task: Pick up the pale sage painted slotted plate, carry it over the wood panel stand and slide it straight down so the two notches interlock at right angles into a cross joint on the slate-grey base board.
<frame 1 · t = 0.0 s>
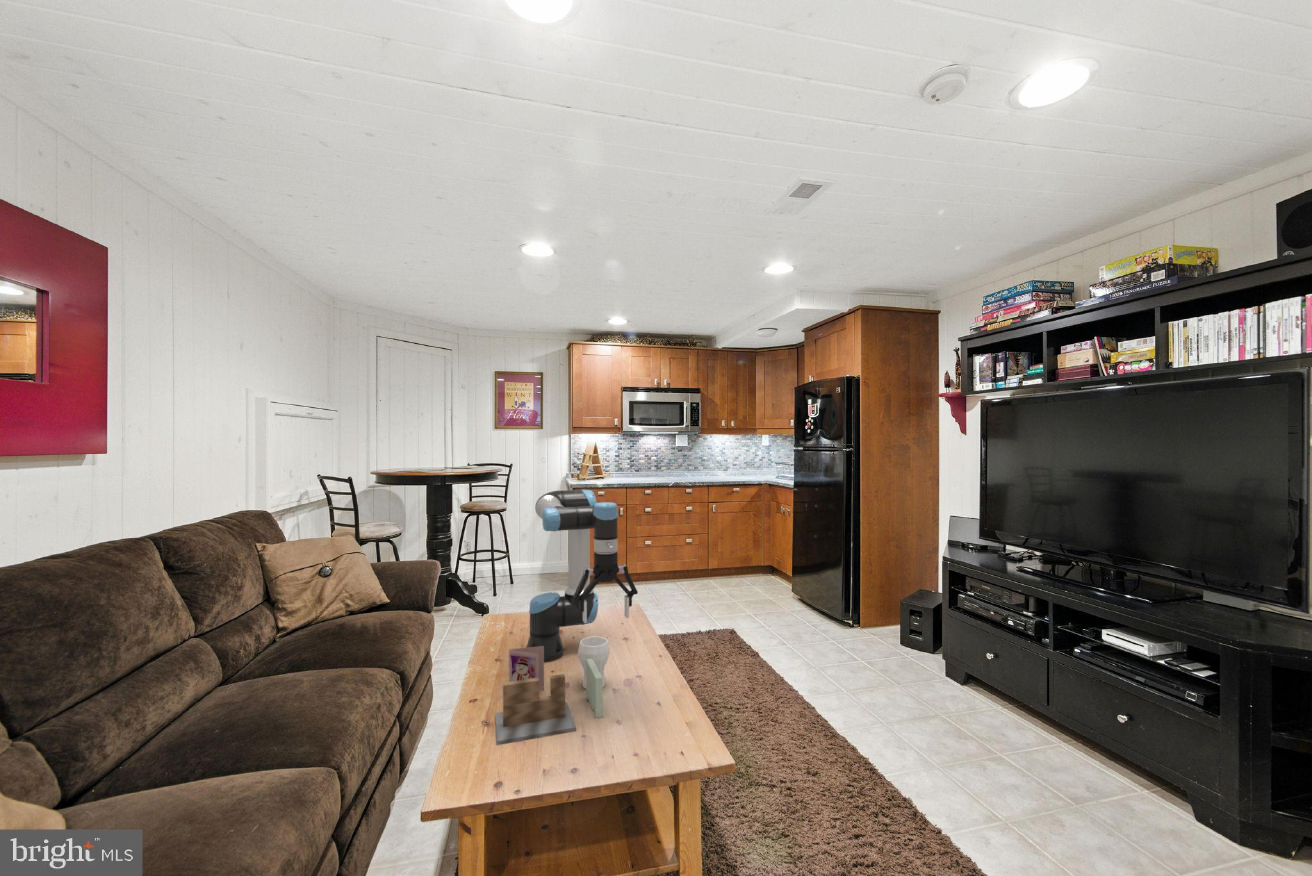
hand: (606, 619, 166), 28 cm above the table, fingers open, 13 cm apart
sage plate: (594, 706, 168), on the table
wood panel stand: (534, 723, 157), on the table
cup: (593, 685, 182), on the table
greeting card: (528, 694, 176), on the table
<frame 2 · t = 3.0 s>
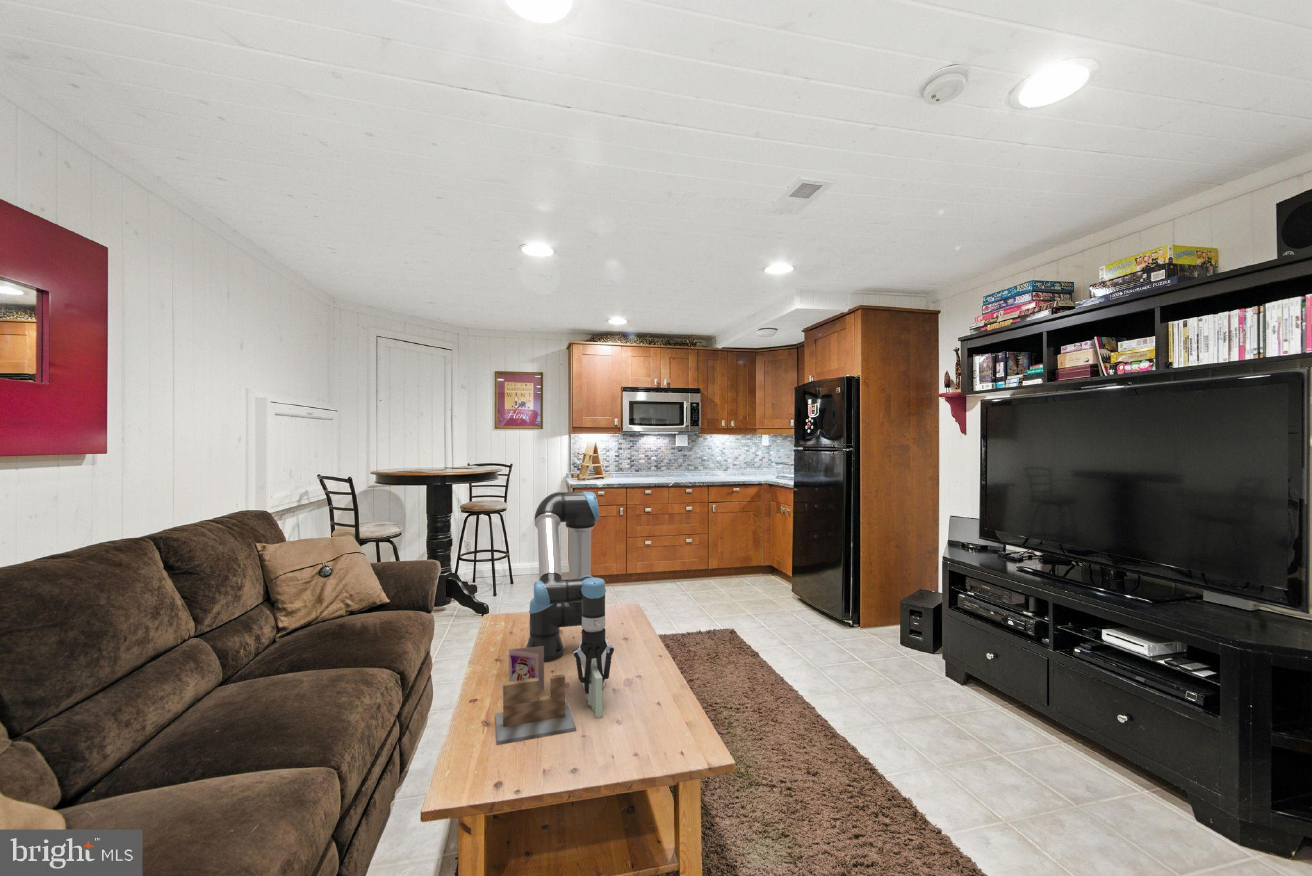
hand: (593, 702, 168), 1 cm above the table, fingers closed on sage plate, 2 cm apart
sage plate: (594, 706, 168), on the table, touching gripper
everything else where it was.
when the fingers open (4 cm above the table, at t = 8.7 s): sage plate drops 1 cm, resting on wood panel stand.
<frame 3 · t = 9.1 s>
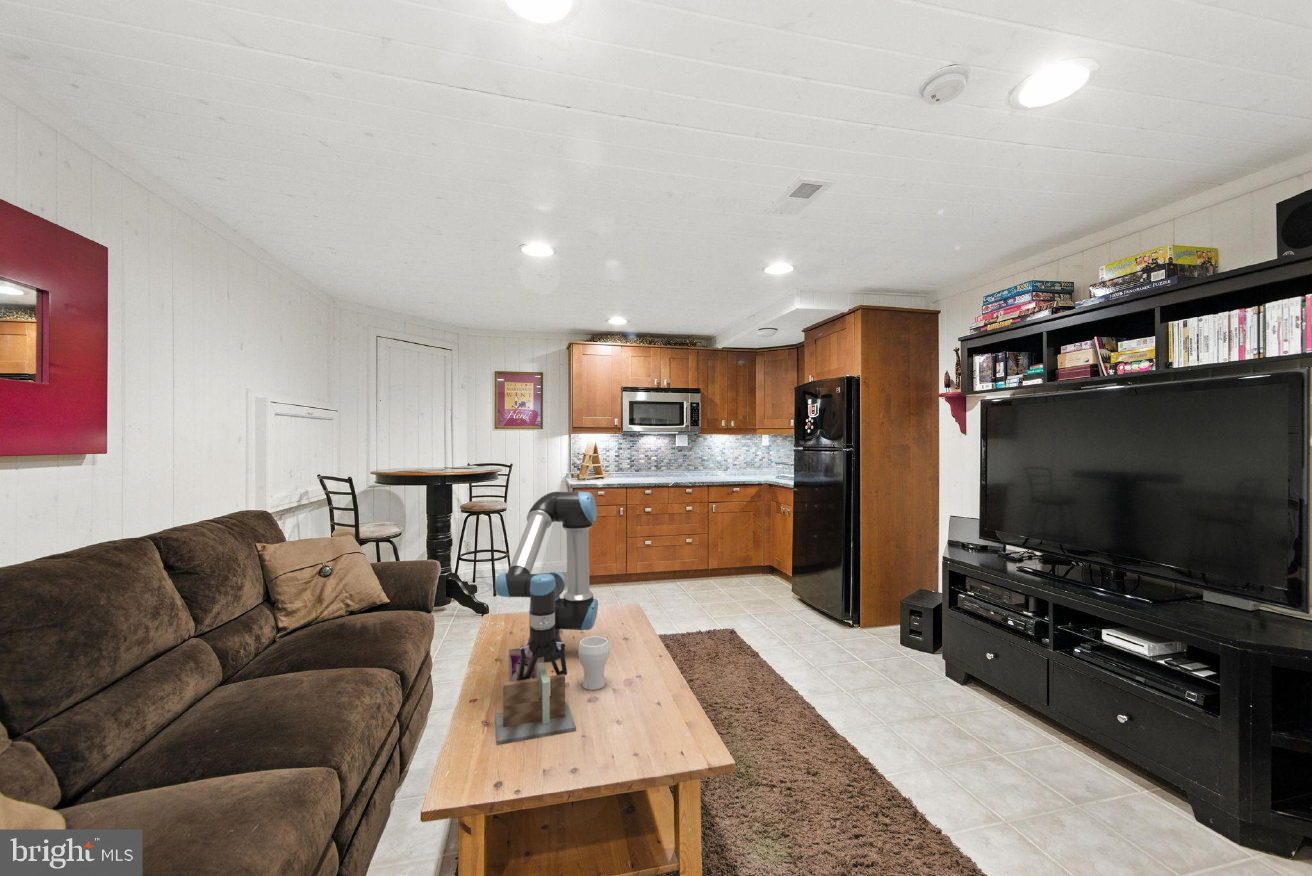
hand: (542, 700, 163), 4 cm above the table, fingers open, 7 cm apart
sage plate: (543, 711, 162), point 1 cm above the table, touching wood panel stand
everything else where it was.
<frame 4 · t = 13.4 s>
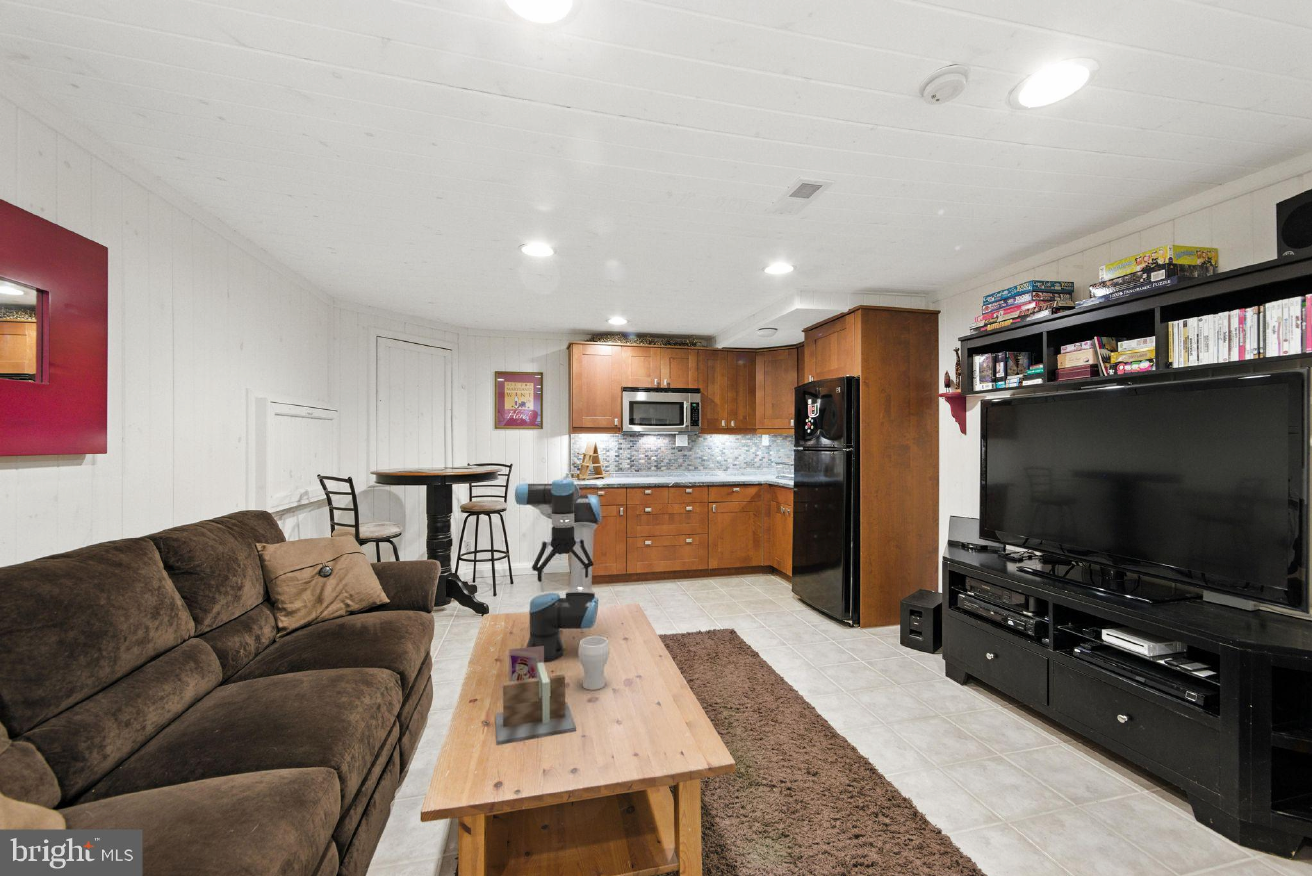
hand: (563, 589, 176), 35 cm above the table, fingers open, 13 cm apart
nothing on the table moved.
at the end: sage plate 0.0 cm from the target spot on the wood panel stand, point 1.0 cm above the wood panel stand's base; sage plate tilted 0°; the gripper is holding nothing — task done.
